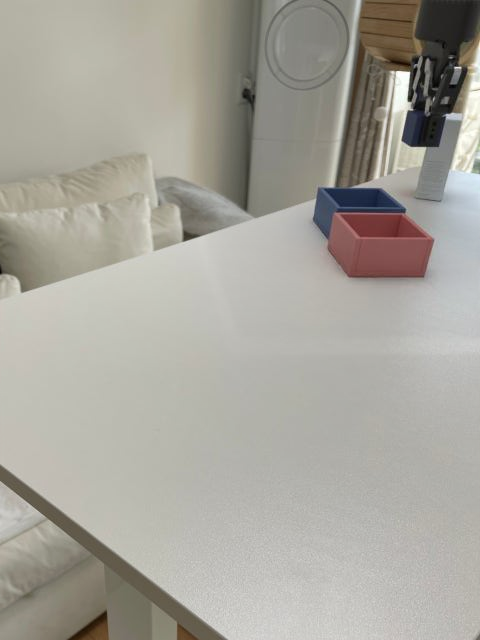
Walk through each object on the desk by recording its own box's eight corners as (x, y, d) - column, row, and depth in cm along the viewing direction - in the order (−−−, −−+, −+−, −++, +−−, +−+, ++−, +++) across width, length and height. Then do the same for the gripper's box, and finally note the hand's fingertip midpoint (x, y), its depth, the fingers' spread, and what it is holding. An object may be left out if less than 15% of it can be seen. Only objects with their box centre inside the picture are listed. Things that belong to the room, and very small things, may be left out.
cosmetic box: (415, 188, 109) (435, 110, 102) (442, 192, 108) (463, 113, 101) (413, 198, 105) (433, 117, 98) (441, 201, 103) (463, 120, 96)
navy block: (428, 140, 93) (435, 110, 91) (438, 147, 90) (446, 115, 88) (401, 140, 93) (407, 110, 91) (410, 147, 90) (417, 115, 87)
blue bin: (374, 220, 95) (381, 187, 92) (398, 243, 87) (406, 208, 84) (312, 219, 94) (318, 187, 92) (330, 243, 86) (337, 208, 84)
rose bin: (395, 248, 85) (404, 213, 83) (424, 277, 77) (434, 239, 75) (327, 247, 85) (333, 212, 82) (348, 276, 77) (356, 238, 74)
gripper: (508, -1, 76) (467, 154, 86) (459, -6, 87) (428, 131, 97) (445, -2, 75) (411, 154, 85) (404, -6, 87) (378, 131, 97)
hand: (420, 141), depth 91 cm, fingers closed on navy block, 4 cm apart
